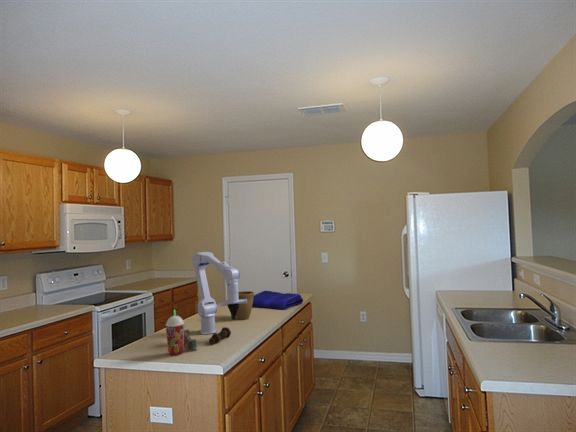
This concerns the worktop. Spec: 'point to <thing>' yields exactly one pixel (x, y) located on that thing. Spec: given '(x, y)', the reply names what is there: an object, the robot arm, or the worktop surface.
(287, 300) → the towel
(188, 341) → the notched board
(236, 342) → the worktop surface
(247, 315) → the plant pot
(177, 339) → the smoothie
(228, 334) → the bolt
